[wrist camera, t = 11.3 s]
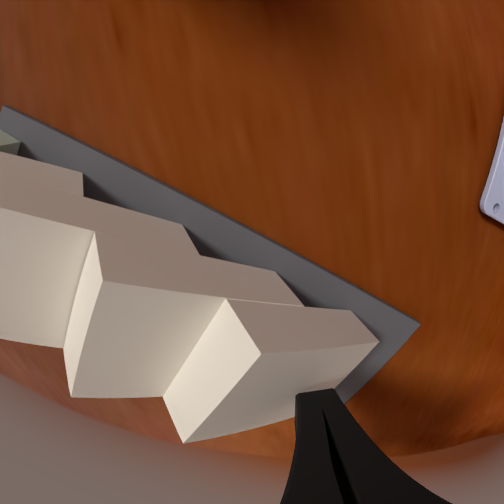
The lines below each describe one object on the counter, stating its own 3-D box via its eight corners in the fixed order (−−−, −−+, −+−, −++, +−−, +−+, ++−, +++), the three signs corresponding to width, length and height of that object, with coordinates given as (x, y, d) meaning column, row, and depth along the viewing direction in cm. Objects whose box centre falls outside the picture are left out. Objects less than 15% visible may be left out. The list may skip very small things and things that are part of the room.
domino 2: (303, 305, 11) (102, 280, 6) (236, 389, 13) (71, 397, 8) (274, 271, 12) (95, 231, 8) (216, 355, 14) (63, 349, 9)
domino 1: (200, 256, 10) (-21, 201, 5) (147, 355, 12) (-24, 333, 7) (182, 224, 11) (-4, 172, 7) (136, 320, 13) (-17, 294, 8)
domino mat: (418, 321, 14) (420, 324, 14) (336, 405, 16) (337, 409, 16) (6, 105, 9) (2, 105, 9) (-22, 239, 11) (-25, 241, 11)
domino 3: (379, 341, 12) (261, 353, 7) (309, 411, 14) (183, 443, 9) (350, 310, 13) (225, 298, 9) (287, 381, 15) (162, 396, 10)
